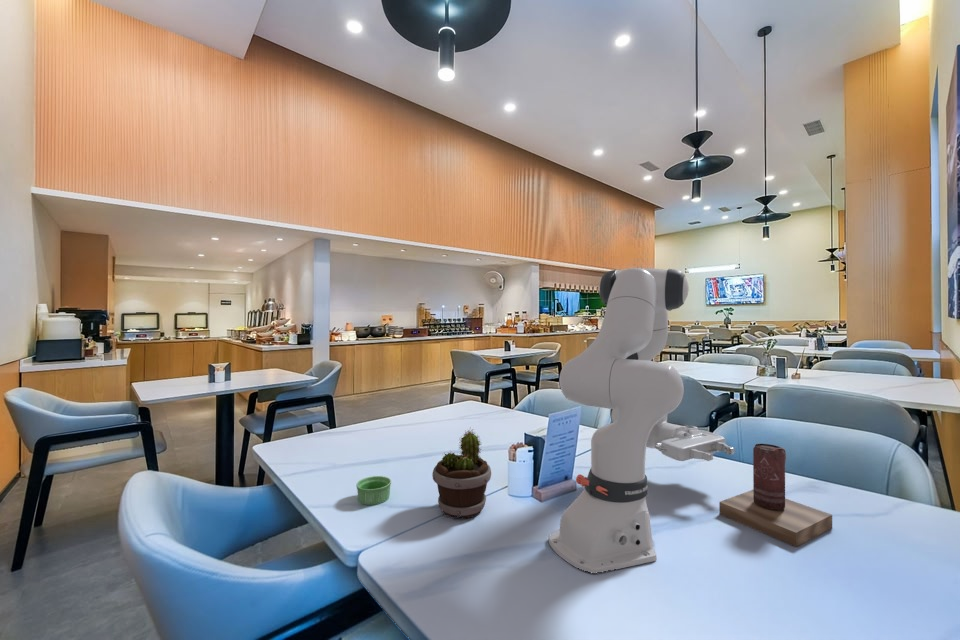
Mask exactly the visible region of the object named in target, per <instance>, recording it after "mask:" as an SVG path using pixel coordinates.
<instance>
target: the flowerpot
mask: <svg viewBox="0 0 960 640" xmlns="http://www.w3.org/2000/svg"><path fill="white" fill-rule="evenodd" d="M474 430H475V429H474V428H473V429H471V426H470V427H469V429H467V430H464V433H463V434H462V437H460V438H459V439H458V441H459V443H458V444H459V446H458V450H460V452H459V454H458V453H457V454H455V452H450V451H447V453H446V452H444V453H443V456H442V458H441V460H439V461H438V462H437V463H436V465H435V466H434V468H433V471H432V474H431V475H432V480H433V482H434V483H436V485H437V490H438V491H437V492H438V498H437V503H438V507H439V509H440V510H441V511H442V513H443V514H444V515H445V516H447V517H450V518H452V519H458V518H460V517H461V518H462V519H464V520H465V519H469V518H473V517H476V516H478V515H479V514H481V513H482V510H484V508H485V505H486V502H487V496H486V494H485V493H486V490H487V486H488V485H487V484H488V483H489V482H490V480H491V477H492V468H491V466H490V465H489V464H488V462H487V461H486V460H484V459H483V458H482V457H481V454H480V453H481V452H482V451H483V450H482V446H481V444H482V441H480V440H479V435H478V434H477V432H476V431H474ZM480 446H481V447H480Z"/></svg>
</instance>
